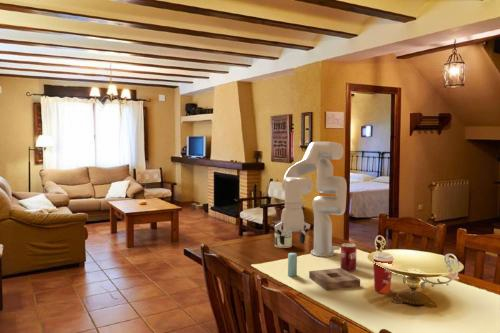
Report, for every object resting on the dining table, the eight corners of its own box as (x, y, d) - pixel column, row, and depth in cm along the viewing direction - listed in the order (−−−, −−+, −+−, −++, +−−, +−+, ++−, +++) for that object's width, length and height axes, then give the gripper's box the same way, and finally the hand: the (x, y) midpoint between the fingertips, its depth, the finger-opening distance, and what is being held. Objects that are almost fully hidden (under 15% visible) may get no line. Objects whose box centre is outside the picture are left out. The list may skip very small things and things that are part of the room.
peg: (294, 273, 189) (294, 252, 188) (298, 276, 185) (298, 254, 184) (286, 274, 188) (286, 253, 187) (290, 277, 184) (290, 255, 183)
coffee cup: (390, 295, 162) (391, 258, 161) (369, 291, 167) (370, 255, 166) (395, 289, 169) (396, 253, 168) (375, 285, 174) (375, 250, 173)
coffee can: (270, 245, 239) (270, 221, 238) (282, 242, 246) (282, 219, 245) (283, 249, 231) (283, 224, 230) (295, 245, 238) (295, 222, 237)
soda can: (357, 268, 197) (357, 244, 196) (354, 273, 190) (355, 247, 189) (342, 266, 200) (342, 242, 199) (338, 270, 193) (339, 245, 192)
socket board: (340, 274, 188) (340, 268, 188) (360, 286, 173) (360, 279, 173) (309, 277, 183) (309, 271, 183) (326, 290, 168) (326, 283, 168)
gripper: (306, 204, 190) (306, 240, 191) (272, 205, 185) (271, 242, 186) (314, 206, 183) (313, 244, 184) (278, 207, 178) (277, 246, 179)
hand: (292, 243), depth 185 cm, fingers open, 9 cm apart
